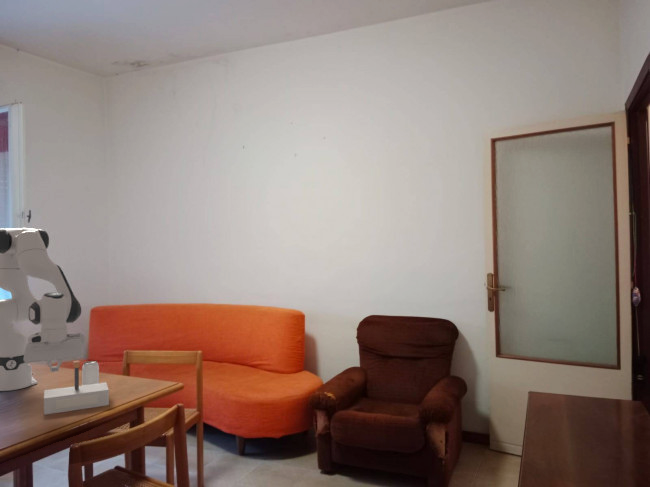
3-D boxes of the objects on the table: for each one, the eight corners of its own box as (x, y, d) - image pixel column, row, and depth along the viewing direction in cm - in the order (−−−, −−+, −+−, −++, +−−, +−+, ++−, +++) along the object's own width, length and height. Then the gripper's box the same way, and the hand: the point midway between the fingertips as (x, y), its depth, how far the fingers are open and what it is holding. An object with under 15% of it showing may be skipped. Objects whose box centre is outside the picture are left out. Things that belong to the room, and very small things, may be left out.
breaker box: (44, 405, 192) (44, 390, 192) (106, 396, 203) (106, 382, 203) (44, 415, 182) (43, 398, 182) (109, 405, 192) (108, 389, 192)
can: (102, 388, 215) (101, 361, 215) (93, 393, 208) (93, 364, 208) (87, 388, 215) (87, 360, 215) (79, 392, 209) (78, 364, 209)
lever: (73, 388, 194) (73, 360, 194) (79, 387, 195) (79, 360, 195) (73, 390, 190) (73, 363, 190) (79, 390, 191) (79, 362, 191)
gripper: (84, 331, 197) (84, 366, 197) (24, 336, 187) (24, 373, 187) (85, 334, 191) (85, 369, 191) (23, 339, 181) (23, 376, 181)
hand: (54, 371), depth 189 cm, fingers closed
